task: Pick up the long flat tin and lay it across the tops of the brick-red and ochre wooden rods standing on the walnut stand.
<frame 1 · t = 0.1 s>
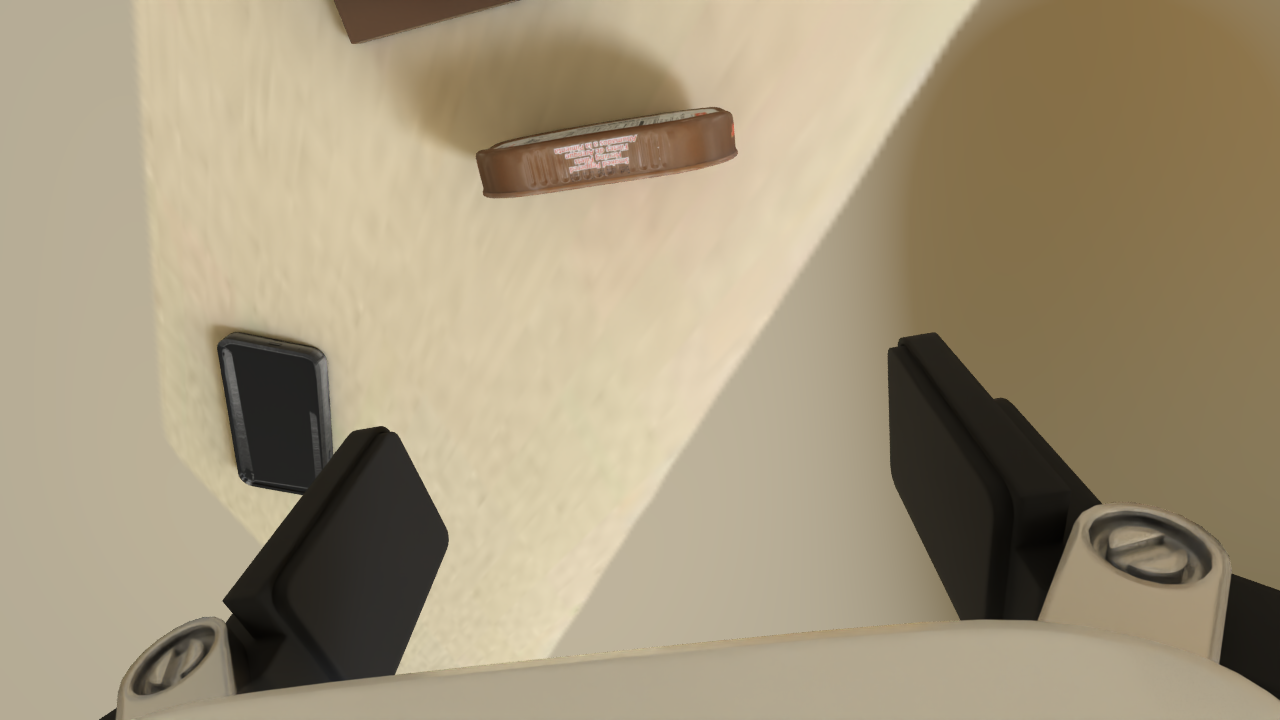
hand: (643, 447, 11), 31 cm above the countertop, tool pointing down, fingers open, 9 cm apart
tin: (611, 137, 38), on the countertop
phone: (286, 415, 50), on the countertop
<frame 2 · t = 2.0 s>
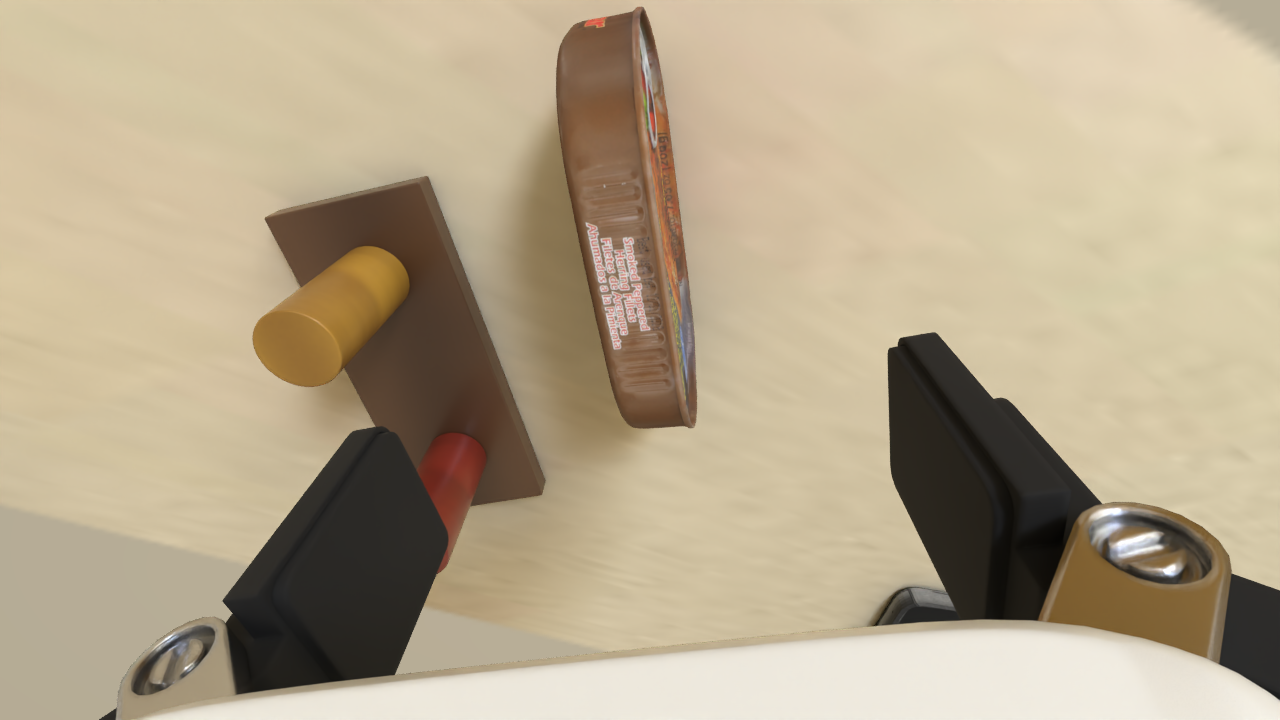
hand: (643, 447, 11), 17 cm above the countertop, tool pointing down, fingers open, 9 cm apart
tin: (643, 212, 26), on the countertop
rod stand: (428, 361, 30), on the countertop
phone: (983, 639, 39), on the countertop
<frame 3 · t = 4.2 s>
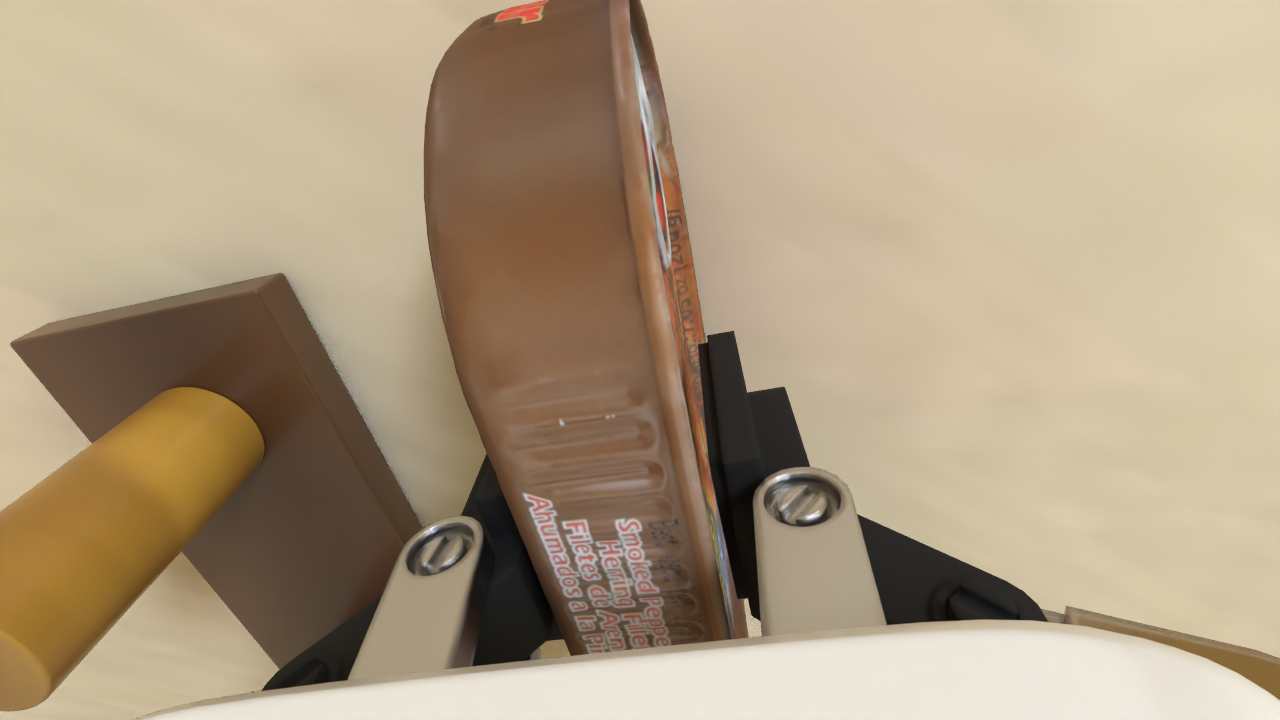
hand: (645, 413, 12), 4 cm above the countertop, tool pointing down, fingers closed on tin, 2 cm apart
tin: (642, 333, 16), on the countertop, touching gripper
rod stand: (319, 533, 20), on the countertop
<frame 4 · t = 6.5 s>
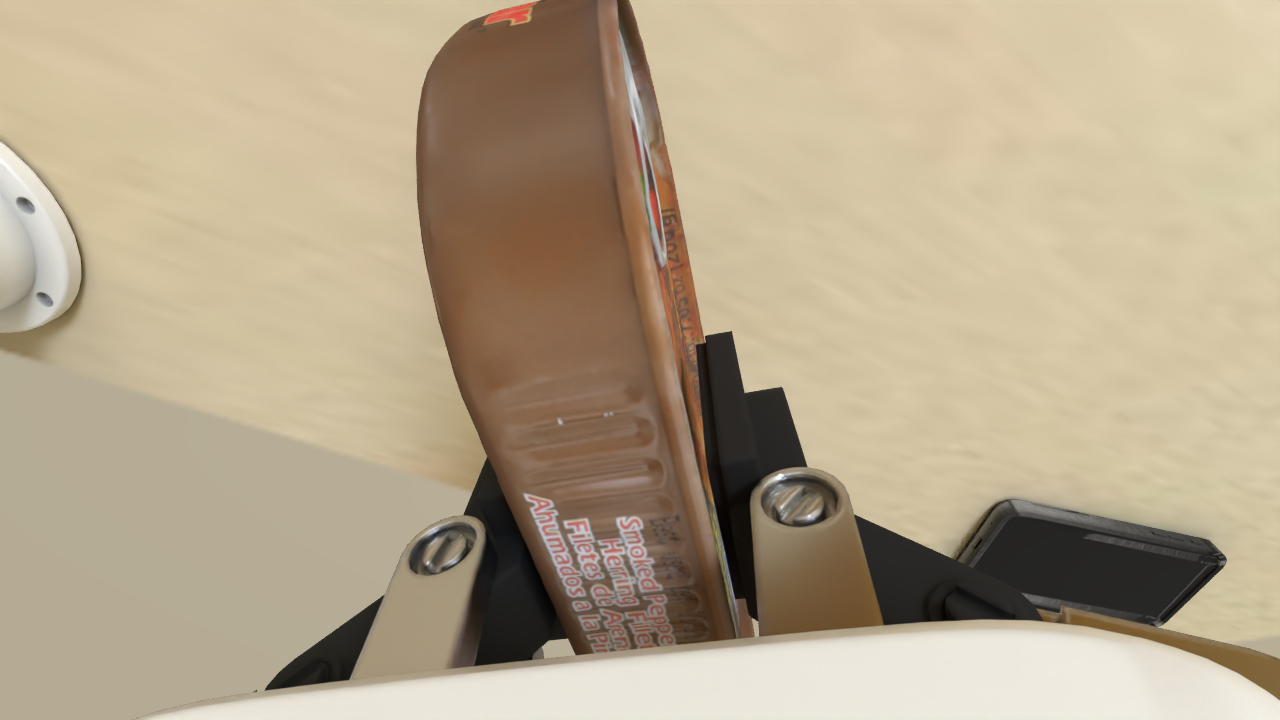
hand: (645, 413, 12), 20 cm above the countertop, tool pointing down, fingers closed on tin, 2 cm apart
tin: (640, 333, 16), point 16 cm above the countertop, touching gripper
phone: (1076, 558, 40), on the countertop
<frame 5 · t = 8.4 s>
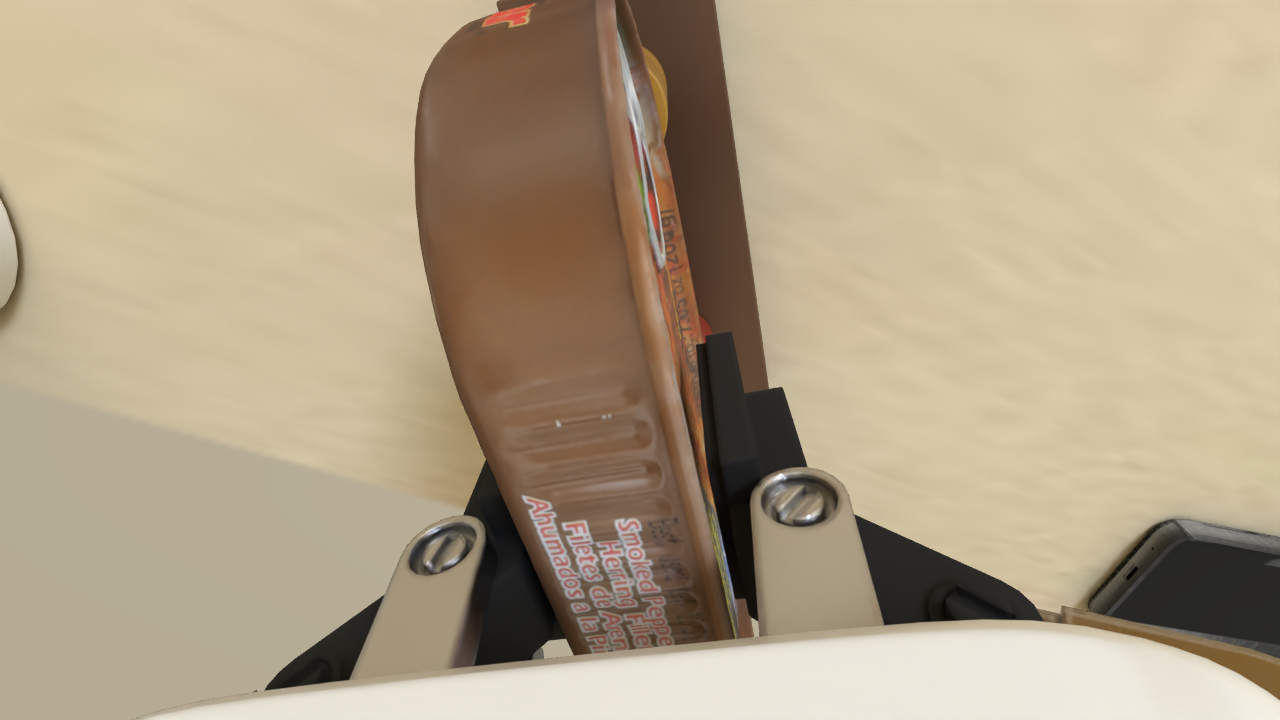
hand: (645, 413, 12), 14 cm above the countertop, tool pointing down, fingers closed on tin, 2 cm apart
tin: (640, 334, 16), point 10 cm above the countertop, touching gripper
rod stand: (654, 218, 24), on the countertop
phone: (1242, 586, 33), on the countertop
when the fingers open (11 cm above the countertop, at t = 9.2 s): tin stays where it is, resting on rod stand.
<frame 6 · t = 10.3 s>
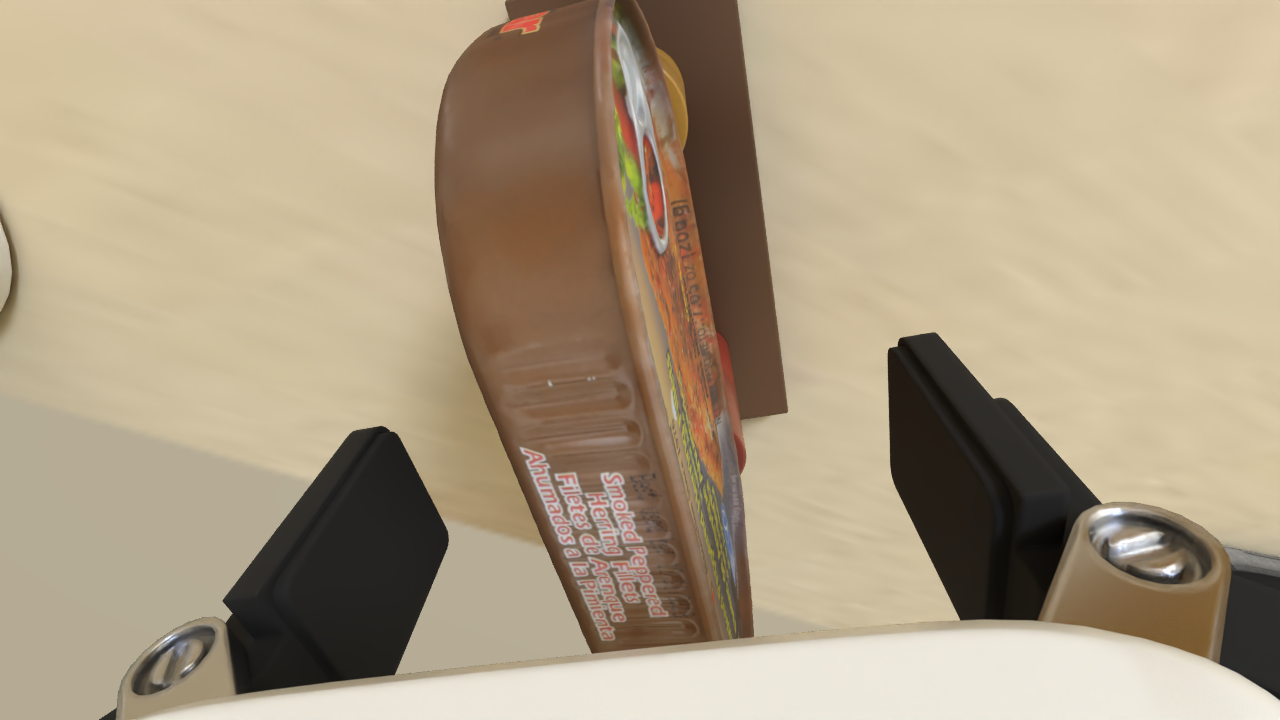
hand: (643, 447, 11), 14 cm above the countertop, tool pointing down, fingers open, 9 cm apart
tin: (655, 317, 16), point 8 cm above the countertop, touching rod stand
rod stand: (669, 229, 23), on the countertop
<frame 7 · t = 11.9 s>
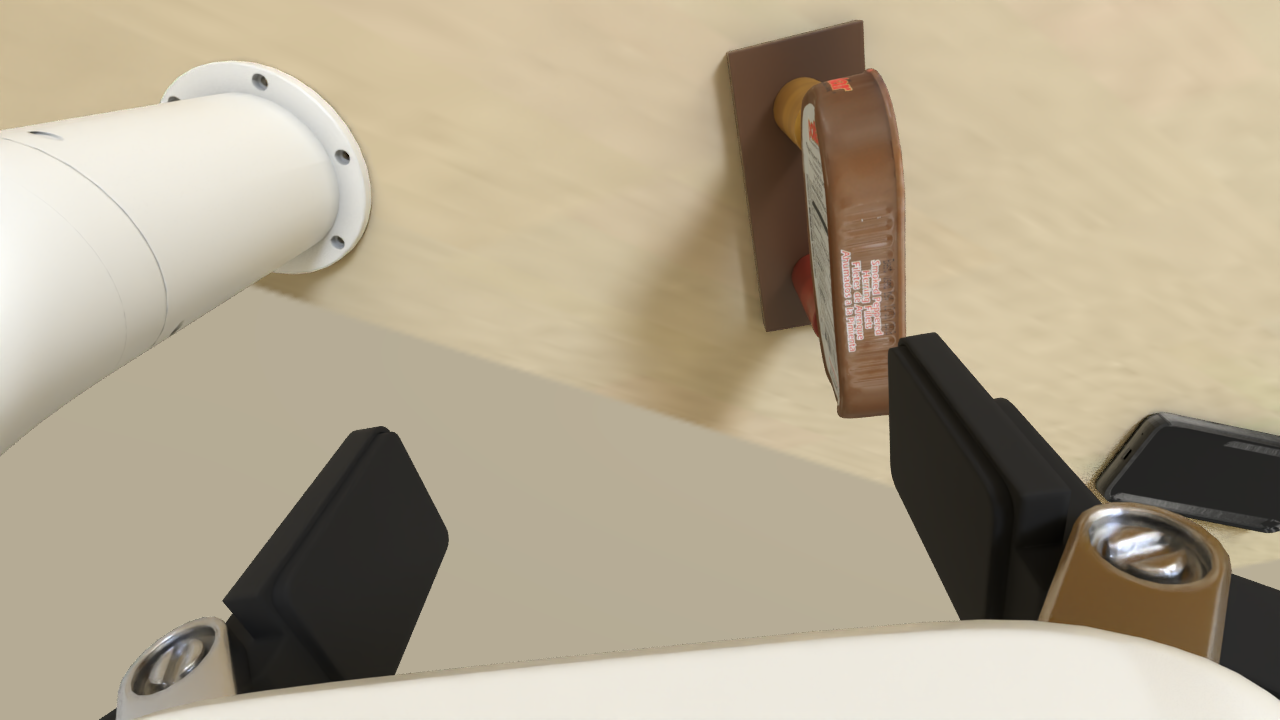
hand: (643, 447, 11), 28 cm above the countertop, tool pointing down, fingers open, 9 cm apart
tin: (827, 231, 30), point 8 cm above the countertop, touching rod stand
rod stand: (804, 191, 36), on the countertop
phone: (1210, 468, 45), on the countertop
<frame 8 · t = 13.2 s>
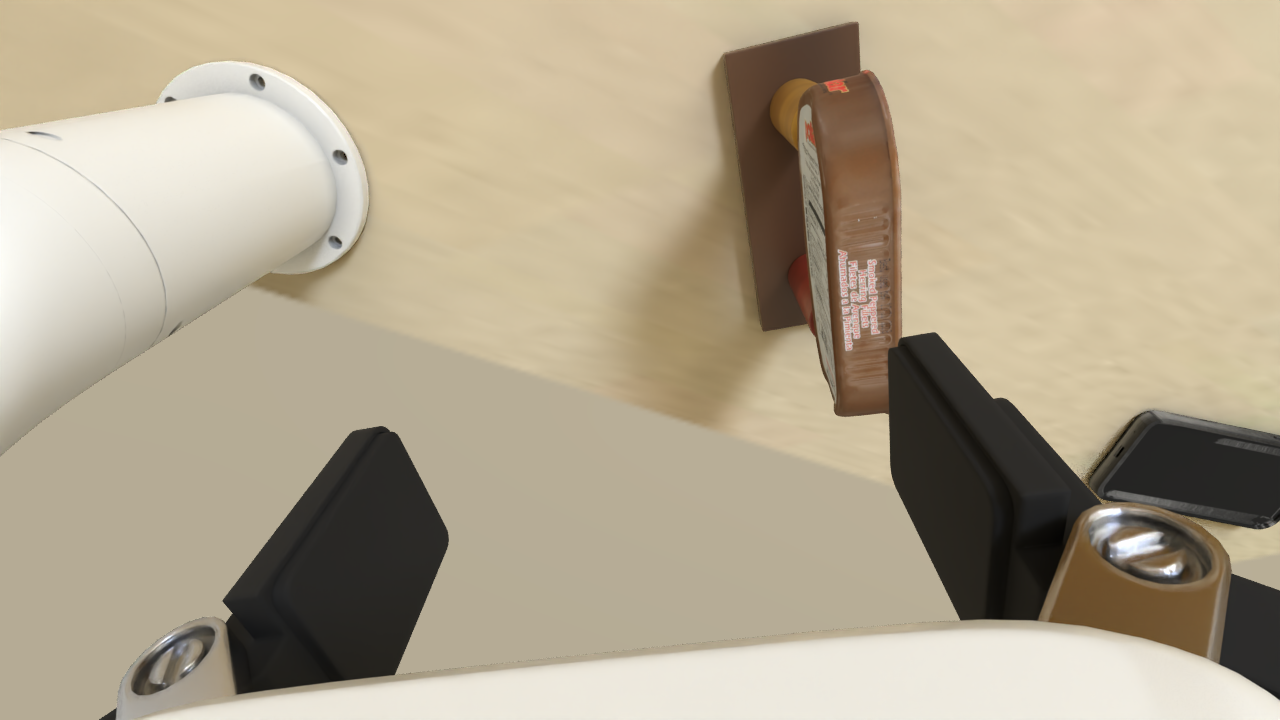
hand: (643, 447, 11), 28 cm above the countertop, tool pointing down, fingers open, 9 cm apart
tin: (824, 231, 30), point 8 cm above the countertop, touching rod stand
rod stand: (800, 191, 37), on the countertop
phone: (1201, 465, 46), on the countertop
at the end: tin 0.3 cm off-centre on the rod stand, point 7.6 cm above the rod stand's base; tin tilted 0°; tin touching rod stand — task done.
